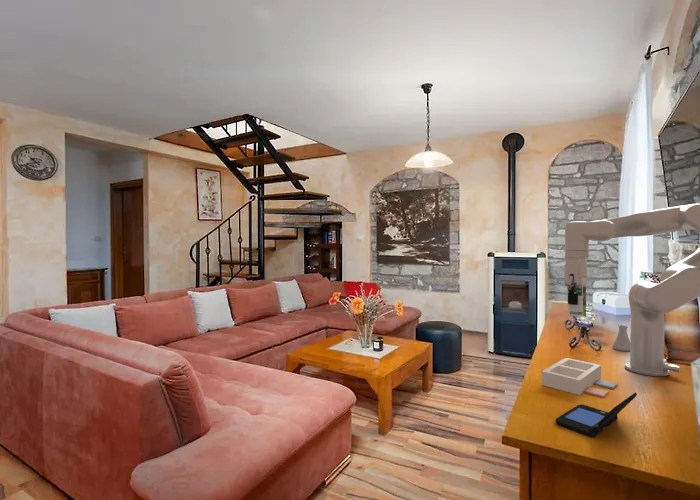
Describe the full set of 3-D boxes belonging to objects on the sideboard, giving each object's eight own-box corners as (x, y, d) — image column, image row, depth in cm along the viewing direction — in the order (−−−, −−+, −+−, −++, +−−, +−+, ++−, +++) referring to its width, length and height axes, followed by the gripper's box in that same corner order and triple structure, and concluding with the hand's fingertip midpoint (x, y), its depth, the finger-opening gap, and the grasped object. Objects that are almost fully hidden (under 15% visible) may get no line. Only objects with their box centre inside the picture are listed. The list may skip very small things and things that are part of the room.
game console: (580, 408, 108) (580, 376, 108) (638, 427, 97) (638, 391, 97) (552, 424, 99) (553, 389, 99) (613, 447, 88) (614, 408, 88)
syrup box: (568, 316, 141) (567, 276, 141) (567, 313, 147) (567, 275, 146) (586, 317, 139) (586, 277, 138) (585, 314, 144) (585, 275, 144)
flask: (637, 351, 160) (637, 327, 159) (619, 351, 160) (619, 327, 160) (625, 346, 167) (625, 323, 167) (608, 346, 167) (608, 323, 167)
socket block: (620, 382, 126) (620, 369, 126) (600, 400, 112) (600, 385, 112) (565, 370, 138) (565, 357, 138) (541, 385, 125) (541, 371, 125)
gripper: (574, 254, 151) (574, 299, 151) (556, 255, 139) (556, 304, 140) (595, 254, 145) (595, 301, 146) (579, 256, 134) (579, 307, 134)
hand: (576, 302), depth 143 cm, fingers closed on syrup box, 7 cm apart
